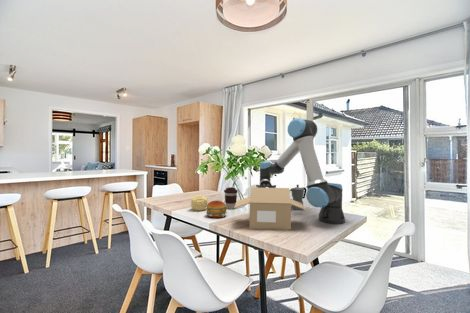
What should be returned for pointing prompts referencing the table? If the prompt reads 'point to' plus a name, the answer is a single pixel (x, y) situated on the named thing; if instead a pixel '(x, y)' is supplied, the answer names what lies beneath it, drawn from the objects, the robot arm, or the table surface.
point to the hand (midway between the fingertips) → (267, 190)
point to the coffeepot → (298, 196)
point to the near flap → (270, 195)
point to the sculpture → (199, 203)
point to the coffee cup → (230, 197)
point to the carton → (269, 214)
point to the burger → (216, 209)
